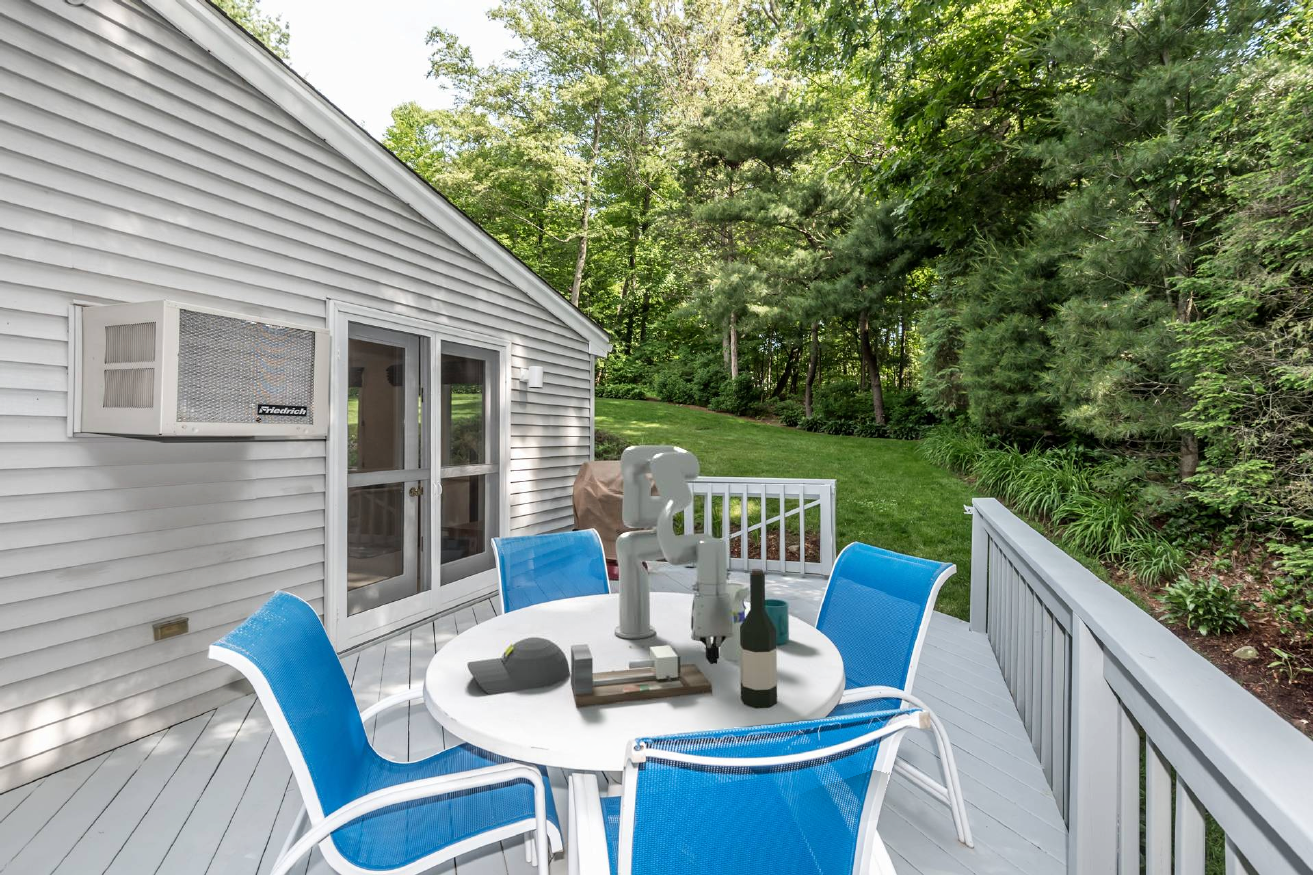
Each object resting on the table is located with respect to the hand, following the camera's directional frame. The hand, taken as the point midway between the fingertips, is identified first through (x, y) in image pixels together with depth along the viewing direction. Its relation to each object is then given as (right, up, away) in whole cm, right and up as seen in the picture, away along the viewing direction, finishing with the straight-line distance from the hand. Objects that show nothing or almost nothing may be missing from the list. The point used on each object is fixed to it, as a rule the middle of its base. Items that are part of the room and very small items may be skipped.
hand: (712, 661), depth 151 cm
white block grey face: (-14, -1, -5) cm, 15 cm away
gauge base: (-18, -5, -4) cm, 19 cm away
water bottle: (+8, -5, +17) cm, 20 cm away
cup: (+22, -5, +29) cm, 36 cm away
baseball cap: (-49, -6, +4) cm, 49 cm away
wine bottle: (+9, -5, -12) cm, 16 cm away
